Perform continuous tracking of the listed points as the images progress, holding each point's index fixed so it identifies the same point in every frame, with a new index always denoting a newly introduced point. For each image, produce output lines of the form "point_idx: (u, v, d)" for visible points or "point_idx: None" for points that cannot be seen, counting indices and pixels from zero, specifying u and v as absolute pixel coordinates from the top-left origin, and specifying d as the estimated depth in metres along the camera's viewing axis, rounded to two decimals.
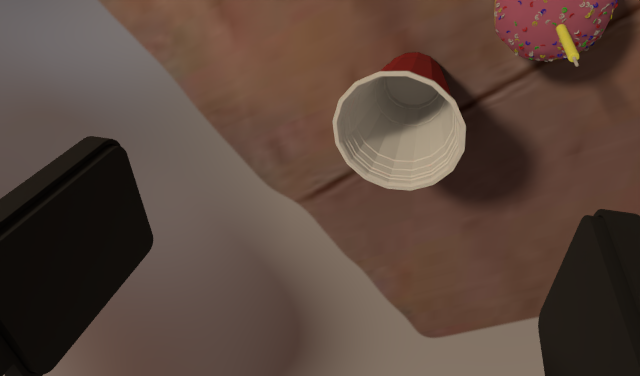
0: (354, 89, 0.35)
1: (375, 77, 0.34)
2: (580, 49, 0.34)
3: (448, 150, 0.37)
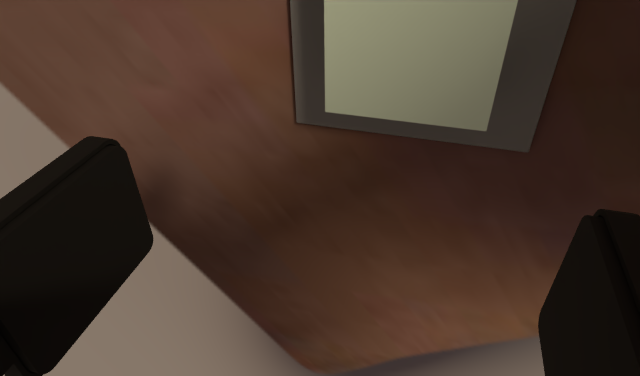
0: None
1: None
2: None
3: None
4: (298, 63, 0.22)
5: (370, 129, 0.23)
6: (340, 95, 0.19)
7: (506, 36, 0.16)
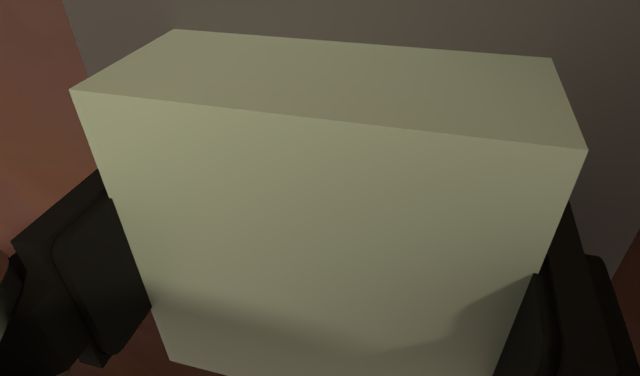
0: None
1: None
2: None
3: None
4: None
5: None
6: (188, 345, 0.10)
7: (513, 318, 0.07)
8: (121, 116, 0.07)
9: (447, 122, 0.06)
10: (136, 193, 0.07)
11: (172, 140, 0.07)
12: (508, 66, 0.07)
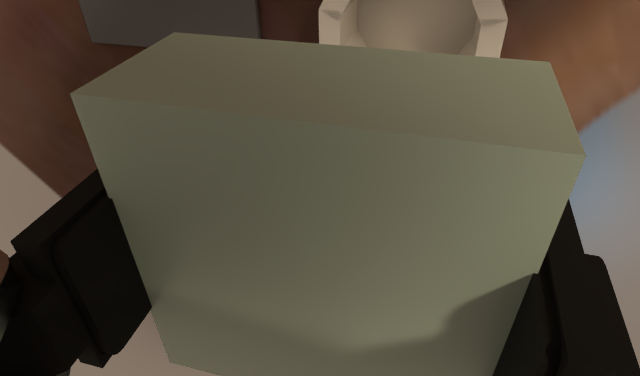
0: None
1: None
2: None
3: None
4: None
5: (145, 44, 0.28)
6: (188, 347, 0.10)
7: (511, 321, 0.07)
8: (122, 120, 0.07)
9: (446, 128, 0.06)
10: (137, 196, 0.08)
11: (172, 144, 0.07)
12: (506, 70, 0.07)
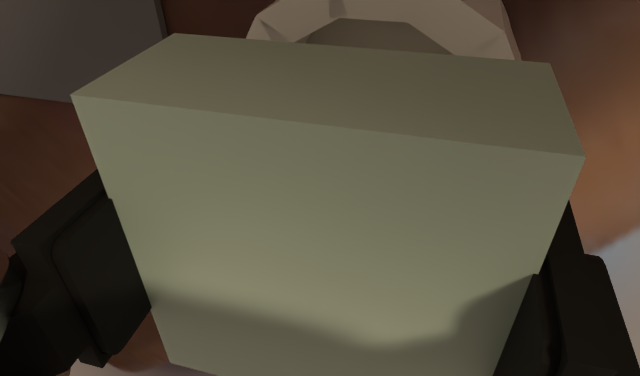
0: None
1: None
2: None
3: None
4: None
5: (31, 94, 0.21)
6: (188, 348, 0.10)
7: (511, 322, 0.07)
8: (122, 121, 0.07)
9: (445, 128, 0.06)
10: (136, 197, 0.08)
11: (173, 145, 0.07)
12: (506, 70, 0.07)
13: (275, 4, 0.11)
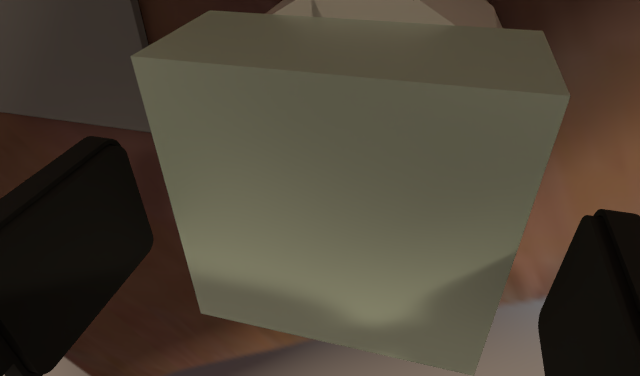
0: None
1: None
2: None
3: None
4: None
5: (10, 110, 0.20)
6: (219, 297, 0.11)
7: (510, 252, 0.08)
8: (175, 79, 0.08)
9: (454, 78, 0.07)
10: (182, 149, 0.09)
11: (218, 100, 0.08)
12: (505, 36, 0.08)
13: None
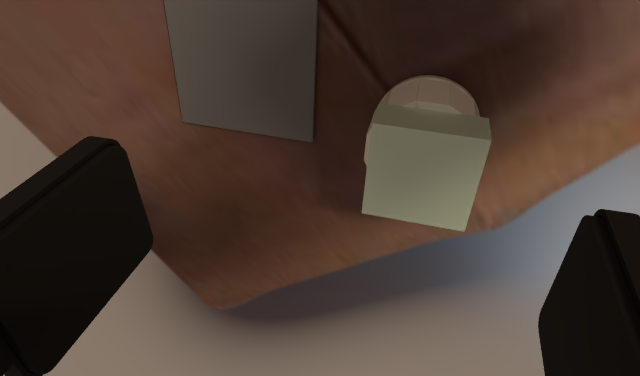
0: None
1: None
2: None
3: None
4: (180, 86, 0.38)
5: (225, 127, 0.39)
6: (372, 204, 0.30)
7: (477, 183, 0.27)
8: (384, 130, 0.27)
9: (463, 134, 0.26)
10: (378, 150, 0.28)
11: (396, 136, 0.27)
12: (477, 119, 0.28)
13: None
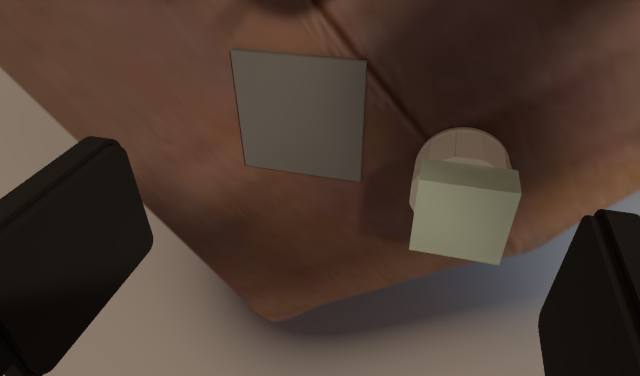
0: None
1: None
2: None
3: None
4: (244, 136, 0.44)
5: (283, 169, 0.45)
6: (418, 243, 0.36)
7: (509, 227, 0.32)
8: (429, 185, 0.32)
9: (497, 188, 0.31)
10: (424, 200, 0.33)
11: (439, 190, 0.32)
12: (508, 172, 0.33)
13: None
